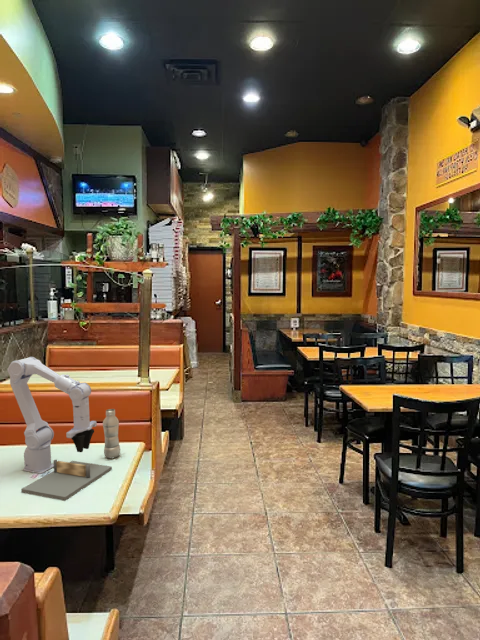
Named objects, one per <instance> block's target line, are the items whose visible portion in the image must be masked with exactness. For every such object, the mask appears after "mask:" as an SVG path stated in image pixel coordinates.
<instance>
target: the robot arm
mask: <svg viewBox="0 0 480 640" xmlns="http://www.w3.org/2000/svg"><path fill="white" fill-rule="evenodd" d="M7 373H8V375H9V384H10V387H11V390H12V392H13V394H14V397H15V400H16V403H17V405H18V407H19V409H20V412H21V414H22V417H23V419H24V422H25V424H26V428H25V430H24V431H23V435H24V439H25V440H24V443H25V446H26V448H25V449H24V452H23V461H24V462H23V463H24V468H23V469H22V471H25V472H30V473H35V474H36V473H37V474H43V473H46V472H47V471H49V470H51V469H52V468H53V469H54V463H52V452H51V451H52V450H51V449H52V448H51V443H52V441H53V439H54V435H55V431H54V430H53V428H52V427H51V426H49V423H48V422H47V421H45V420H43V419H42V417H41V415H40V412H39V410H38V407H37V404H36V403H35V399H34V398H33V394H32V393H31V390H30V387H29V385H28V382H29V380H30V378H31V377H32V376H33V375H37V376H39V377H41V378H44V379H46V380H48V381H50V382H52V383H53V384H54V387H55V388H57V389H58V390H60V391H61V392H63V393H64V394H67V395H68V396H69V398H70V400H71V404H72V412H73V413H72V414H73V428H71V429H69V430H68V431H67V432H66V433H65V434H66V438H67V439H70V440H72V442H73V444H74V446H75V449H76V452H77V453H83V451H84V449H85V450H89V448H90V444H91V440H92V437H93V435H94V433H95V429H94V428H95V427H97V421H96V420H91V421H90V419H91V417H90V401H89V400H90V399H89V397H90V395H91V394H92V388H91V386H90V385H89V384H88V383H87V382H80V381H79V380H76V379H74V378H72V377H70V375H69V374H68V373H67V374H64V373H62V374H59V373H57V372H56V371H54V369H51V368H50V367H48V366H46V365H45V364H44V363H42V361H41V360H40V359H37V358H36V357H34V356H29V357H27V358H26V357H25V358H22V359H17V360H13V361H11V362H10V363H9V365H8V367H7Z"/></svg>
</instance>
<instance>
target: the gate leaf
mask: <svg viewBox="0 0 480 640" xmlns="http://www.w3.org/2000/svg"><path fill="white" fill-rule="evenodd" d="M69 462H70V461H69ZM69 462H68V461H63V460H57V462H56V464H57V472H59V473H65V474H71V475H77V476H83V477H85V476H86V465H82V464H76V463H69Z"/></svg>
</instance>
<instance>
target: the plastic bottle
mask: <svg viewBox="0 0 480 640" xmlns="http://www.w3.org/2000/svg"><path fill="white" fill-rule="evenodd" d="M119 425H120V421H119V419H118V417H117V416H116V409H115V408H108V409H106V410H105V418H104V419H103V421H102V427H103V433H104V448H103V454H104V457H105V458H107V459H115V458H117V457H119V456H120V454H121V446H120V441H119Z"/></svg>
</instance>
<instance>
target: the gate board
mask: <svg viewBox="0 0 480 640" xmlns="http://www.w3.org/2000/svg"><path fill="white" fill-rule="evenodd" d="M57 461H58V459H54V460H53V464H54V467H53V471H51V472H49V473H47V474H46V475H44V476H42V477H41V478H38V479H37V480H35V481H33V482H31V483H29V484H28V485H26V486H24V487H22V488H21V489H20V490H21V493H25V494H29V495H34V496H39V497H43V498H50V499H53V500H54V499H55V500H60V501H68V500H69V499H70V498H71V497H73V496H75V495H76V494H78V493H79V492H80V490H81V489H82V490H84V489H85V488H87V487H88V486H90V485H91V484H92V483H94V482H96V481H97V480H99V479H100V478H101V477H103V476H104V475H106V474H107V473H109V472H110V471H112V470H113V468H112V466H109V465H103V464H96V463H91V462H83V461H77V460H70V461H69V463H76V464H82V465H86V476H85V477H83V476H77V475H71V474H65V473H59V472H57V464H56V462H57ZM83 488H84V489H83ZM82 490H81V491H82ZM77 492H78V493H77ZM74 494H75V495H74Z"/></svg>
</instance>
